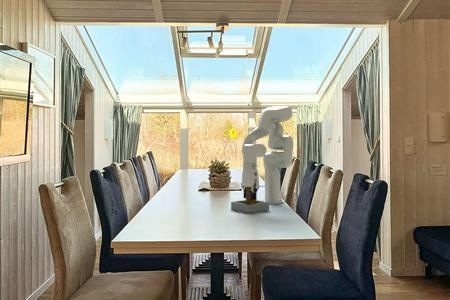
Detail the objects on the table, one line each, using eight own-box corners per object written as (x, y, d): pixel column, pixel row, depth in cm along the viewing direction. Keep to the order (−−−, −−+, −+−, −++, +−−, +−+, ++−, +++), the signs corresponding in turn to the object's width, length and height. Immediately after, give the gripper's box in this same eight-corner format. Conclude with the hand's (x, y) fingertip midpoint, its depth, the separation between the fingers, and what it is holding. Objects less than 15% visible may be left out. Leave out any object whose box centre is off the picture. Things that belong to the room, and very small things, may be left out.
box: (251, 206, 237) (251, 199, 236) (269, 210, 224) (269, 202, 224) (231, 209, 228) (231, 201, 228) (248, 213, 216) (247, 205, 215)
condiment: (259, 206, 225) (259, 184, 225) (247, 207, 221) (247, 185, 220) (251, 204, 232) (251, 183, 231) (239, 205, 227) (239, 184, 227)
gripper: (265, 167, 221) (265, 200, 221) (245, 165, 235) (245, 196, 235) (254, 167, 216) (254, 201, 217) (235, 166, 230) (235, 197, 231)
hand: (249, 198), depth 226 cm, fingers closed on condiment, 6 cm apart
